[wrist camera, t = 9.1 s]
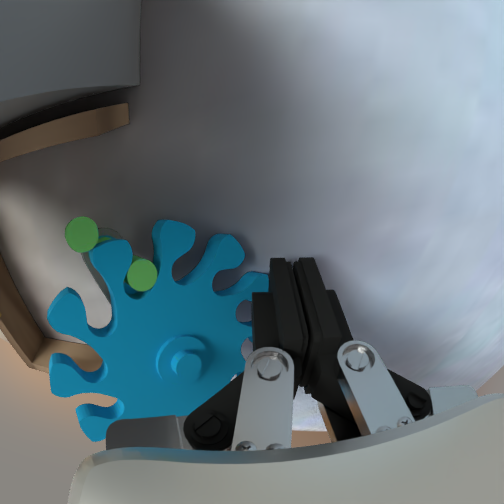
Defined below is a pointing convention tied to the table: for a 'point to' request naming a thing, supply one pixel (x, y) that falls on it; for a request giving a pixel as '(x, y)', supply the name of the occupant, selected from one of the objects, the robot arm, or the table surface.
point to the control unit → (65, 52)
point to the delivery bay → (3, 289)
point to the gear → (152, 325)
